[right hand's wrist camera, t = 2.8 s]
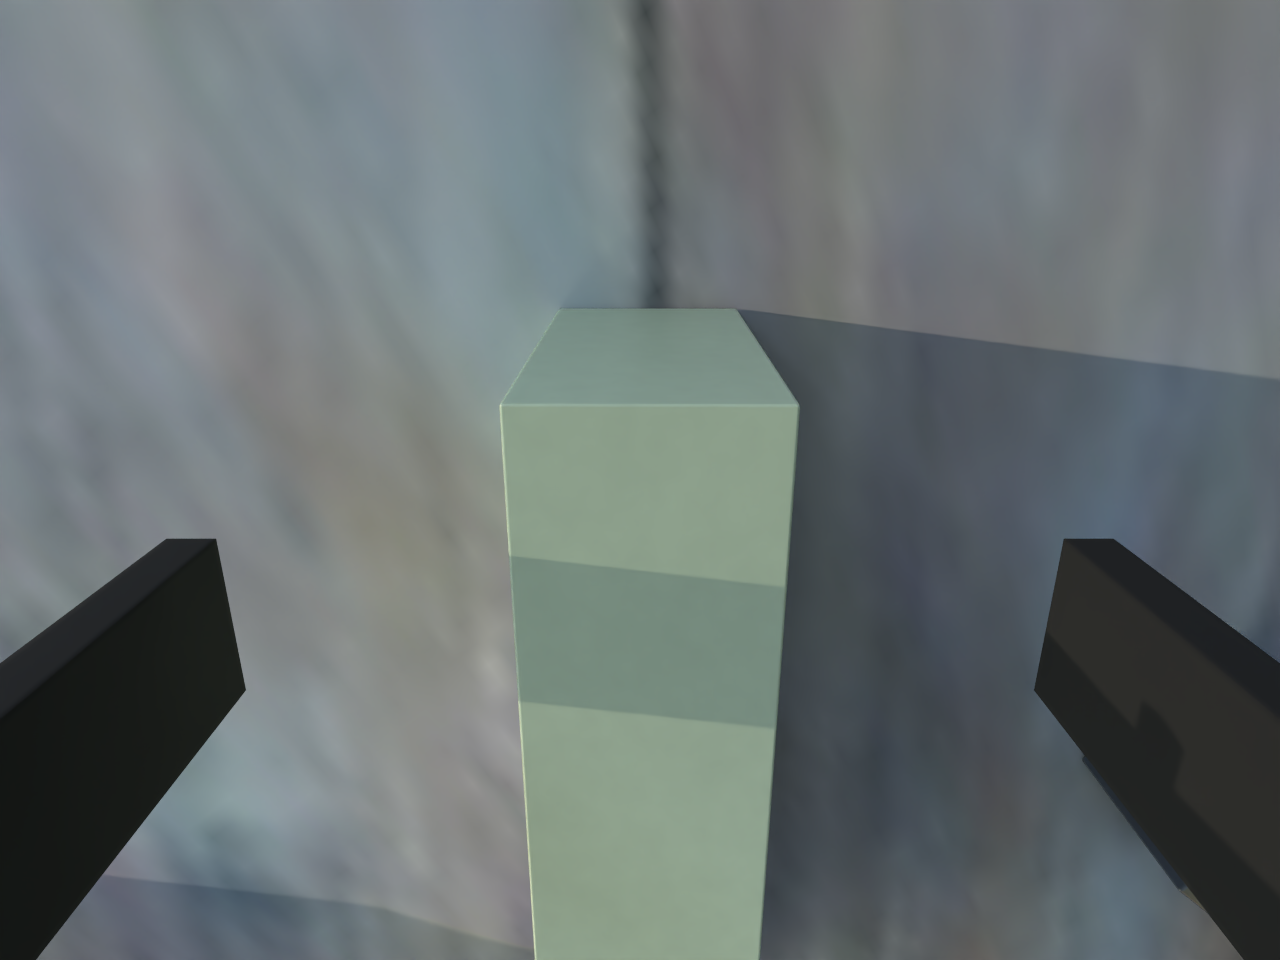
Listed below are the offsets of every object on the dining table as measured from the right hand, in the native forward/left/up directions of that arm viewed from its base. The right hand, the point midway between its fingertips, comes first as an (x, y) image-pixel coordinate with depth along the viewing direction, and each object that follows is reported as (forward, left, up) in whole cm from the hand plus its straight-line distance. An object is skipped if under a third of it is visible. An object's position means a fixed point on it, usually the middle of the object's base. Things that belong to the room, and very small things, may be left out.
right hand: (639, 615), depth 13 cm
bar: (+4, +8, -10) cm, 13 cm away
